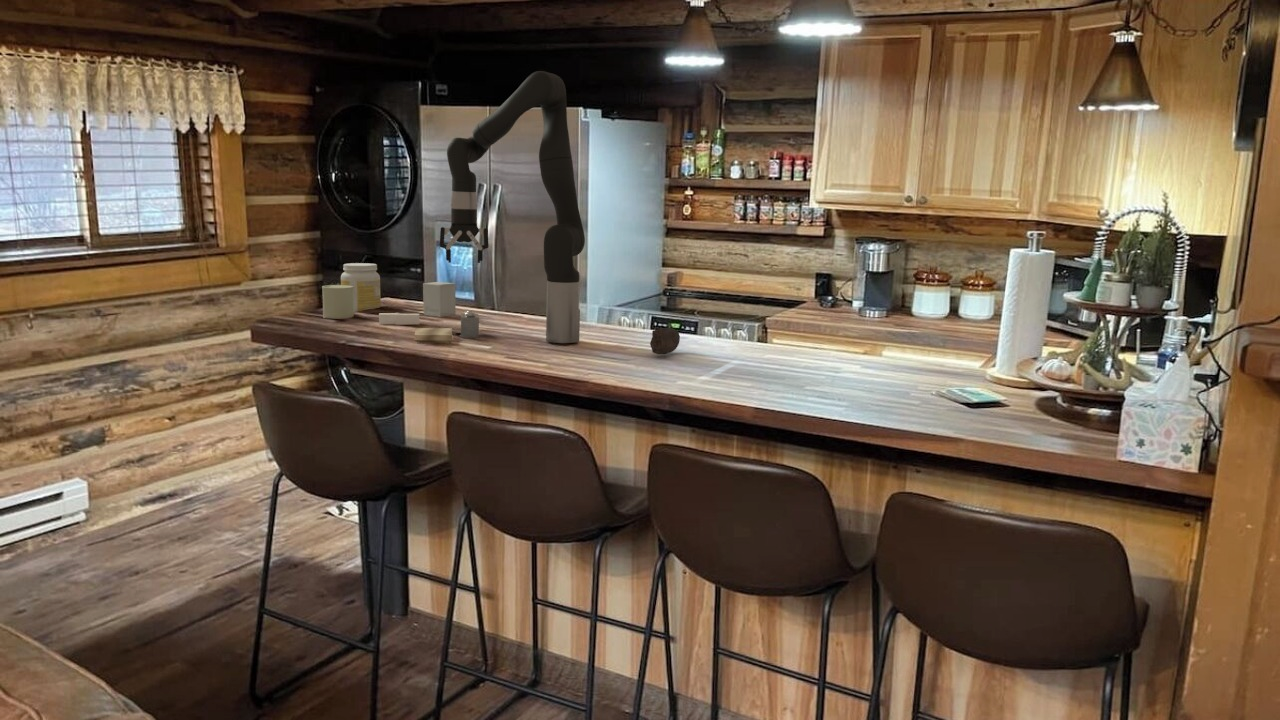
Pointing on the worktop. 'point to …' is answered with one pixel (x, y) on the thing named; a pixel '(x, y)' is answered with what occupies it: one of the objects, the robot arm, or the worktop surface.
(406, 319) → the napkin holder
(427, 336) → the stand
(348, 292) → the can
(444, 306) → the supplement box
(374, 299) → the supplement tub
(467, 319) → the block
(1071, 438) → the worktop surface
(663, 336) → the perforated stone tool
